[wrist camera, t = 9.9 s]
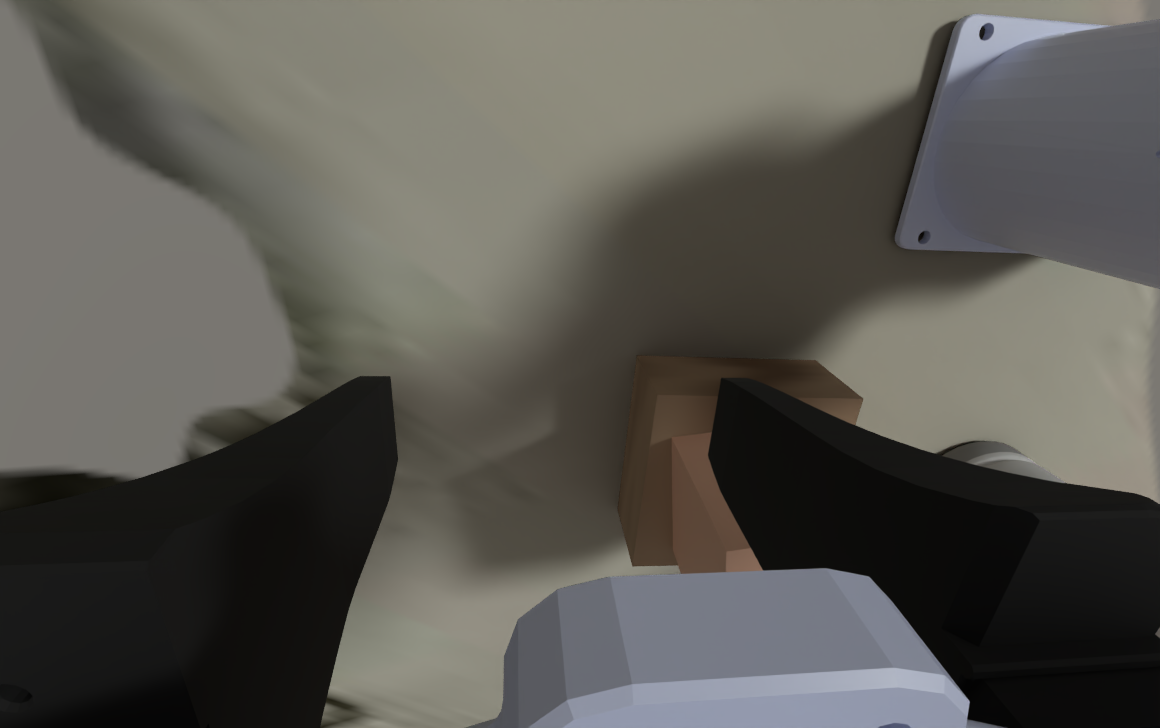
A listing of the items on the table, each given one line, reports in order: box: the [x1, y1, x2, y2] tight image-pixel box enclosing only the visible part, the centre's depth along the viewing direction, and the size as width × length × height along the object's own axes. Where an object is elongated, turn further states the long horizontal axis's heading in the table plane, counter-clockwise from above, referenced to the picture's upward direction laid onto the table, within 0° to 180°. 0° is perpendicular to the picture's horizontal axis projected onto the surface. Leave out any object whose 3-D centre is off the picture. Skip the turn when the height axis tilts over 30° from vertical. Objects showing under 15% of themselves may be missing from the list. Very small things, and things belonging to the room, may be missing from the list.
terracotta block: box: [671, 432, 763, 574], centre depth 19 cm, size 6×6×6 cm
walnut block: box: [618, 355, 863, 566], centre depth 24 cm, size 8×8×4 cm
